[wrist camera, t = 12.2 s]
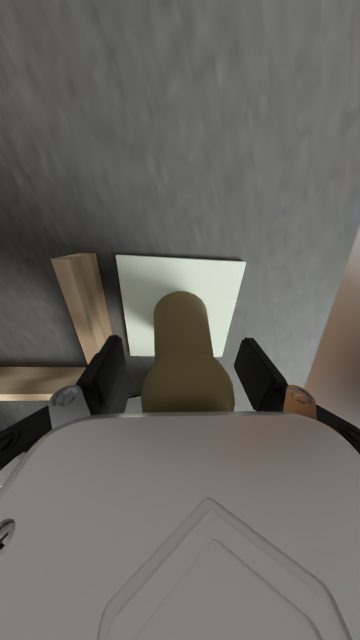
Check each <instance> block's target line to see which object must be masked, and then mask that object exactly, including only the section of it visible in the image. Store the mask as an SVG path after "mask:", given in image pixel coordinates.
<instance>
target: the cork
mask: <svg viewBox="0 0 360 640" xmlns="http://www.w3.org/2000/svg"><path fill="white" fill-rule="evenodd" d="M153 315H154V351H155V364H154V365H153V366H152V367H151V368H150V370H149V371H148V373H147V375H146V378H145V380H144V383H143V386H142V390H141V405H142V413H153V412H233V411H234V406H235V399H234V391H233V384H232V382H231V379H230V377H229V375H228V374H227V372H226V371H225V369H224V368H223V367H222V365H221V364H220V363H219V361H218V360H216V359H215V358H214V355H213V348H212V342H211V335H210V328H209V322H208V315H207V309H206V306H205V304H204V303H203V301H202V300H201V299H200V298H199V297H198V296H196V295H195V294H192V293H189V292H185V291H176V292H173V293H169V294H167V295H166V296H164V297H163V298H161V299H160V300H159V302H158V303H157V304H156V306H155V309H154V312H153Z"/></svg>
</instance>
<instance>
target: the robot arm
mask: <svg viewBox="0 0 360 640" xmlns="http://www.w3.org/2000/svg"><path fill="white" fill-rule="evenodd" d="M125 366H126V362H125V356H124V351H123V345H122V339H121V337H119V336H118V335H110V336H109V337H108V339H107V340H106V342H105V343H104V345H103V346H102V348H101V350H100V351H99V353H96V354H95V355H94V357H93V358H92V360H91V361H90V363H89V364H88V366H87V367H86V369H85V370H84V372H83V373H82V375H81V376H80V378H79V379H78V381H77V383H76V384H75V385H68V386H65V387H63V388H61V389H59V390H58V391H57V392H55V393H54V394H53V395H52V397H51V398H50V400H49V403H48V405H47V406H46V407H44V408H42V409H40V410H38V411H37V412H35V413H33V414H31V415H30V416H28V417H26V418H24V419H22V420H21V421H19V422H17V423H15V424H14V425H12V426H10V427H8V428H7V429H5V430H3V431H1V432H0V640H360V429H359V428H357V427H356V426H354V425H352V424H351V423H349V422H347V421H345V420H343V419H341V418H340V417H338V416H336V415H334V414H332V413H331V412H329V411H327V410H325V409H324V408H322V407H320V406H318V405H316V401H315V399H314V397H313V396H312V395H311V394H310V393H309V392H308V391H307V390H306V389H304V388H302V387H300V386H297V385H288V384H287V383H286V382H287V381H286V380H285V378H284V377H283V376H282V374H281V373H280V372H279V371H278V369H277V368H276V367H275V365H274V364H273V363H272V362H271V360H270V359H269V358H268V356H267V355H266V354H265V353H264V351H263V350H262V349H261V347H260V346H259V345H258V344H257V342H256V341H255V340H254V339H253V338H245V339H244V340H242V342H241V345H240V348H239V351H238V354H237V357H236V360H235V363H234V368H235V371H236V373H237V375H238V377H239V379H240V381H241V384H242V386H243V388H244V390H245V392H246V394H247V397H248V399H249V401H250V403H251V405H252V407H253V409H254V410H256V411H237V412H153V413H115V414H106V413H107V412H109V411H110V409H111V406H112V403H113V400H114V398H115V395H116V392H117V389H118V387H119V384H120V381H121V378H122V375H123V373H124V370H125Z"/></svg>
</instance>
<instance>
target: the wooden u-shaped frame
mask: <svg viewBox="0 0 360 640" xmlns="http://www.w3.org/2000/svg"><path fill="white" fill-rule="evenodd" d="M51 262H52V265H53V267H54V270H55V273H56V276H57V279H58V282H59V284H60V287H61V290H62V293H63V296H64V299H65V301H66V304H67V307H68V310H69V313H70V315H71V318H72V321H73V324H74V327H75V330H76V332H77V335H78V338H79V341H80V344H81V347H82V349H83V352H84V355H85V358H86V361H87V363H88V364H89V363H90V361H91V360H92V358H93V357H94V355H95V354H96V353H99V351H100V350H101V348H102V346H103V345H104V343H105V342H106V340H107V339H108V337H109V336H110V335H112V330H111V325H110V320H109V316H108V311H107V306H106V301H105V296H104V292H103V287H102V282H101V277H100V273H99V268H98V263H97V258H96V254H95V253H78V254H73V255H68V256H62V257H57V258H52V259H51ZM85 369H86V367H0V401H36V400H50V398H51V397H52V395H53V394H54V393H55V392H57V391H58V390H59V389H61V388H63V387H65V386H68V385H75V384H76V383H77V381H78V379H79V378H80V376H81V375H82V373H83V372H84V370H85Z"/></svg>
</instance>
